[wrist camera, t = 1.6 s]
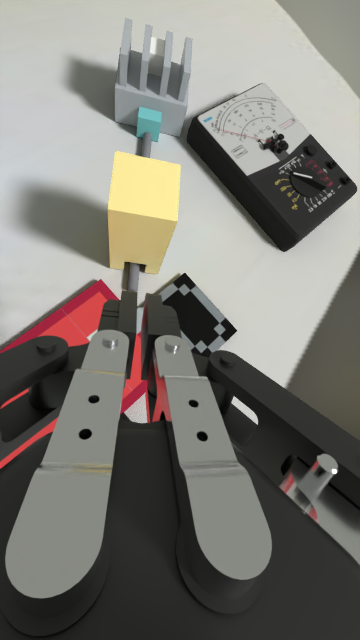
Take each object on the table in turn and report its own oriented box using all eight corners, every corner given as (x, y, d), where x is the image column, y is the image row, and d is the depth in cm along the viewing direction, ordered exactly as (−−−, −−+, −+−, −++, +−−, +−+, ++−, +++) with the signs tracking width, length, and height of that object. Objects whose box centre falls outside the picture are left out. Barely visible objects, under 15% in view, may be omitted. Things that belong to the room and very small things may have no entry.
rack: (179, 136, 35) (194, 78, 29) (114, 121, 34) (114, 55, 27) (181, 100, 37) (196, 36, 30) (120, 83, 35) (121, 12, 29)
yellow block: (157, 274, 30) (177, 221, 21) (110, 267, 29) (107, 209, 20) (160, 232, 31) (180, 164, 22) (115, 225, 30) (115, 150, 21)
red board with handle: (245, 345, 31) (155, 245, 31) (257, 340, 28) (158, 232, 29) (-7, 597, 22) (-126, 448, 22) (-25, 627, 19) (-160, 456, 20)
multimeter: (282, 255, 35) (308, 235, 30) (183, 142, 36) (194, 104, 31) (339, 206, 39) (370, 181, 34) (250, 105, 40) (268, 67, 35)
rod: (144, 293, 29) (147, 284, 27) (119, 290, 29) (120, 281, 26) (161, 93, 36) (165, 71, 34) (141, 88, 36) (143, 65, 33)
